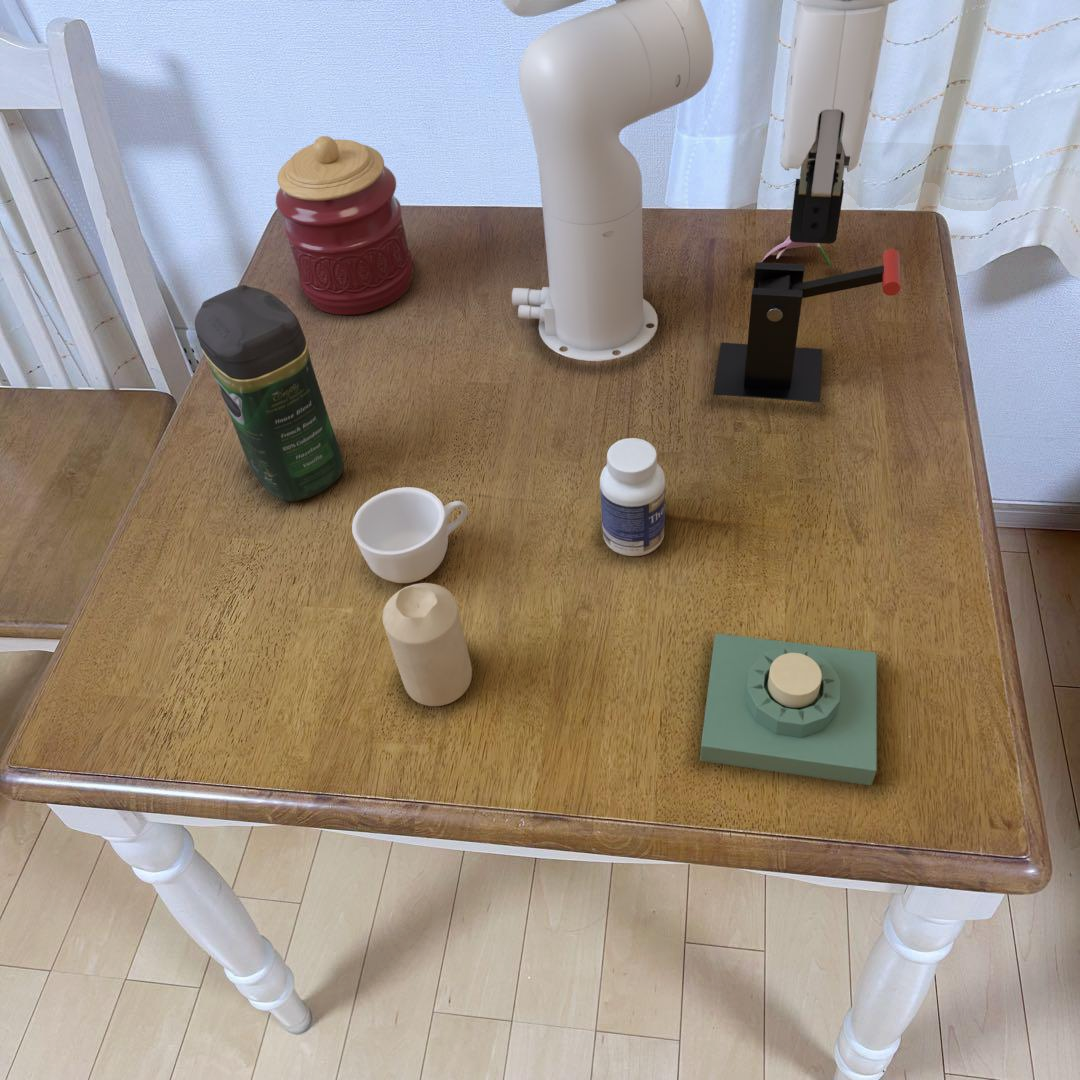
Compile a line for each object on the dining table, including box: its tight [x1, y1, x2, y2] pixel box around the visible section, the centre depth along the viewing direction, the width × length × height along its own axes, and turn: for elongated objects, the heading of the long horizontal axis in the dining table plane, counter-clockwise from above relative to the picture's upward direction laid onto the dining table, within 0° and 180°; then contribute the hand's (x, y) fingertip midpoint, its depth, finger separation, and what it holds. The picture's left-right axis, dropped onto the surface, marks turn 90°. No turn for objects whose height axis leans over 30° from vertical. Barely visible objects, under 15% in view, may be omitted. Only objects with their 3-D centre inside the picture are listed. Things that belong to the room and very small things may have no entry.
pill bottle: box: [599, 437, 666, 557], centre depth 85 cm, size 5×5×10 cm
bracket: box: [712, 261, 823, 403], centre depth 96 cm, size 10×8×12 cm
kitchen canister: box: [275, 135, 414, 316], centre depth 111 cm, size 13×13×18 cm
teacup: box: [351, 486, 469, 584], centre depth 87 cm, size 10×8×5 cm
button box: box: [699, 632, 878, 786], centre depth 74 cm, size 12×10×4 cm
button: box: [768, 653, 822, 708], centre depth 73 cm, size 4×4×2 cm
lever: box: [759, 248, 901, 299], centre depth 91 cm, size 12×5×2 cm, turn 78°
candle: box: [381, 582, 473, 707], centre depth 77 cm, size 6×6×10 cm
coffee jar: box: [194, 284, 345, 502], centre depth 91 cm, size 10×8×19 cm
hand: (812, 236), depth 73 cm, fingers closed
